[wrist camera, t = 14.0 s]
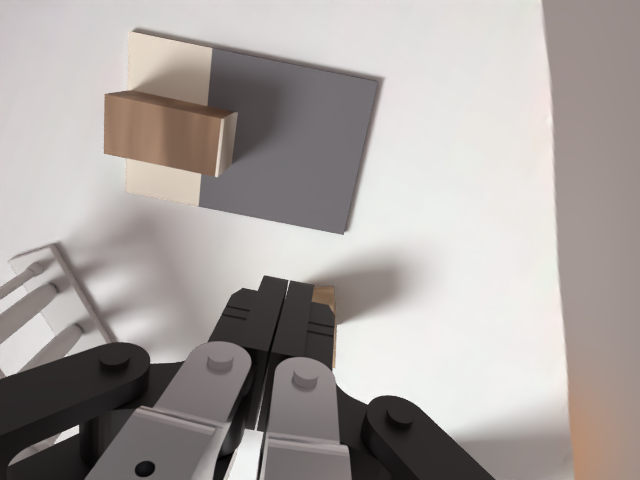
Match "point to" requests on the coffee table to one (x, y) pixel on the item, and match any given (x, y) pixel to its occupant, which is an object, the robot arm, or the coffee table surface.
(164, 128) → the walnut block
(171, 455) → the robot arm
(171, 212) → the coffee table surface
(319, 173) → the mat
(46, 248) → the test tube rack
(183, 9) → the coffee table surface
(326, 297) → the oak block
